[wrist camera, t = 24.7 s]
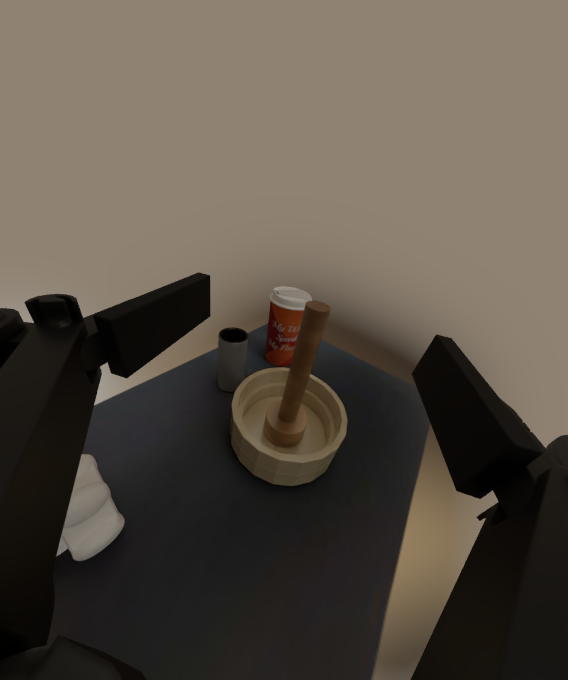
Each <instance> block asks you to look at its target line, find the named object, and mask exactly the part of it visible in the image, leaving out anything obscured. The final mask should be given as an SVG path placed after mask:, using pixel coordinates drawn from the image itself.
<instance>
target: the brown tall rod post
mask: <svg viewBox="0 0 568 680" xmlns="http://www.w3.org/2000/svg"><path fill="white" fill-rule="evenodd" d="M330 310H331V309H330V307H329V306H328V305H326V304H325V303H322V302H319V301H307V302H306V304H305V308H304V312H303V316H302V320H301V324H300V328H299V332H298V336H297V341H296V345H295V349H294V353H293V357H292V361H291V365H290V369H289V373H288V377H287V381H286V385H285V389H284V393H283V397H282V399H281V400H277V401H275V402H273V403H272V404H271V405H270V406H269V407H268V409H267V412H266V417H265V422H264V432H265V435H266V437H267V438H268V439H269V440H270V441H271V442H272V443H273V444H275V445H277V446H280V447H292V446H295V445H296V444H298V443H299V442H300V441H301V439H302V438H303V435H304V432H305V429H306V427H307V424H308V416H307V413H306V411H305V409H304V408H303V407H302V406H301V402H302V399H303V396H304V392H305V389H306V386H307V383H308V380H309V377H310V373H311V370H312V367H313V364H314V361H315V358H316V354H317V351H318V348H319V345H320V342H321V339H322V335H323V332H324V329H325V326H326V323H327V320H328V316H329V313H330Z"/></svg>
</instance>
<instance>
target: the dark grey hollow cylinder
mask: <svg viewBox="0 0 568 680" xmlns="http://www.w3.org/2000/svg"><path fill="white" fill-rule="evenodd" d="M247 346H248V334H247V332H245V331H244V330H242V329H239V328H226V329H223V330H222V331H220V333H219V341H218V378H217V382H218V386H219V388H220V389H222V390H223V391H226V392H234V391H236V389H237V388H238V387H239V385H240V384H241V383H242V382H243V380H244V373H245V364H246V355H247Z"/></svg>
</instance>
